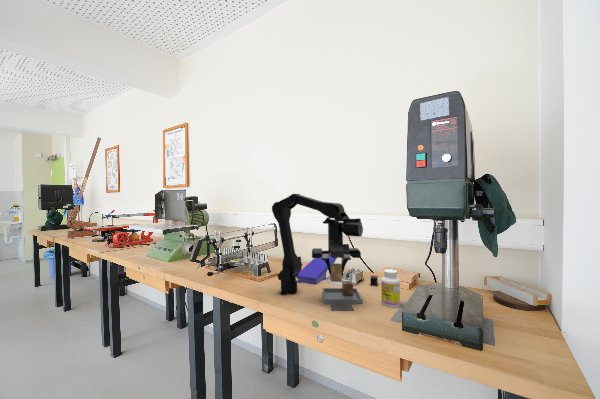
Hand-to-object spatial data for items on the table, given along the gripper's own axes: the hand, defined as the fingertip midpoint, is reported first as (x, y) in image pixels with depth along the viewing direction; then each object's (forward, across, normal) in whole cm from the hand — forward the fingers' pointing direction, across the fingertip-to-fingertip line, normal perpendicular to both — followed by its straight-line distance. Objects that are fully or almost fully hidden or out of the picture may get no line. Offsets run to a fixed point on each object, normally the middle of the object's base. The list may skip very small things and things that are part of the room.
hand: (335, 274), depth 107 cm
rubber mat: (+10, +1, -7) cm, 13 cm away
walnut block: (+10, +5, +7) cm, 13 cm away
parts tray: (+10, +2, +3) cm, 11 cm away
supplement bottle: (+11, +20, -3) cm, 23 cm away
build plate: (+11, +19, +20) cm, 30 cm away
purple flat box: (+11, -6, +34) cm, 36 cm away
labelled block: (+2, 0, 0) cm, 2 cm away
